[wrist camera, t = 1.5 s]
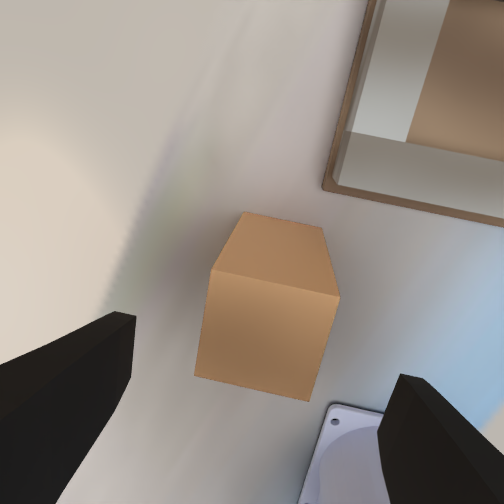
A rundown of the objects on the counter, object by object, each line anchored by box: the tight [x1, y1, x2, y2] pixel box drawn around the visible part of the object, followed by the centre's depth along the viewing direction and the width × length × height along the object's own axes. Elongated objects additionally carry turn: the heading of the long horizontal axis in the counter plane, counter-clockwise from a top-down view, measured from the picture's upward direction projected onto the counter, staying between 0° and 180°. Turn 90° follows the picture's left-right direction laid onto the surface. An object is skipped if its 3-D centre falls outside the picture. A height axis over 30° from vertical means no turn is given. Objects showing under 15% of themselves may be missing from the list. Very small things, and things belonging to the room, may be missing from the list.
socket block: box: [322, 0, 504, 227], centre depth 14 cm, size 11×10×4 cm
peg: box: [194, 212, 340, 402], centre depth 16 cm, size 4×4×8 cm
